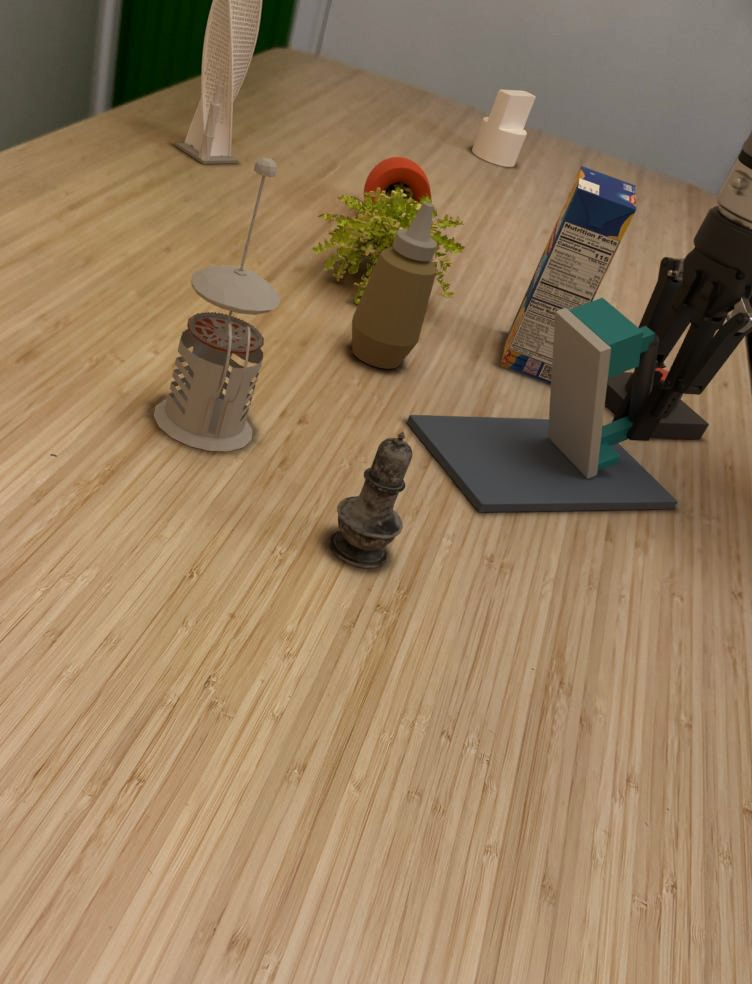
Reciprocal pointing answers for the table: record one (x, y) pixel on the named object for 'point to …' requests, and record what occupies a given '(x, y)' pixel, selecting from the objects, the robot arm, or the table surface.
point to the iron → (596, 381)
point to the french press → (219, 355)
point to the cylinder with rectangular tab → (504, 128)
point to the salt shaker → (373, 508)
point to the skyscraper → (222, 78)
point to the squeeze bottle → (396, 296)
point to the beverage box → (569, 267)
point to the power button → (662, 373)
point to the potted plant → (385, 219)
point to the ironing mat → (530, 468)
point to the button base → (673, 427)
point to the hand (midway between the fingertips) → (630, 431)
